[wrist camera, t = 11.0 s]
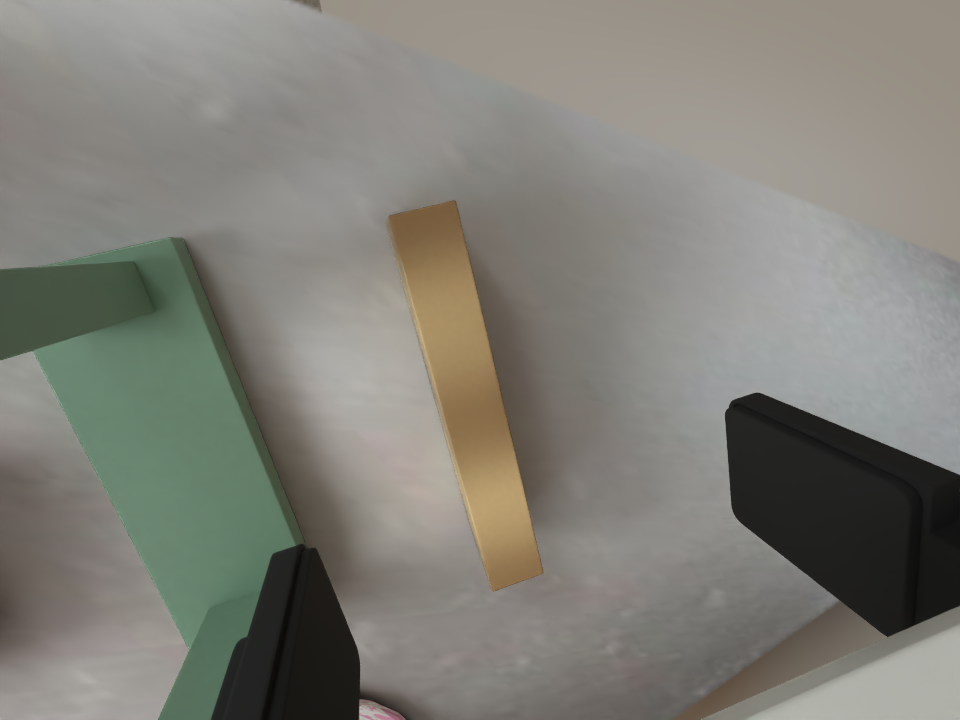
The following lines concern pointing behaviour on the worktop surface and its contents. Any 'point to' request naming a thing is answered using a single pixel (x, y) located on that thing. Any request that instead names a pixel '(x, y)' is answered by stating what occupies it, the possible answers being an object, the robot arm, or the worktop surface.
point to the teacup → (376, 711)
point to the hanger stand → (161, 436)
